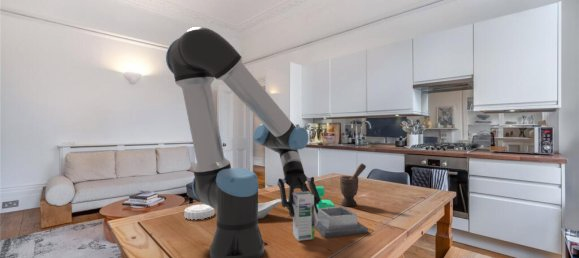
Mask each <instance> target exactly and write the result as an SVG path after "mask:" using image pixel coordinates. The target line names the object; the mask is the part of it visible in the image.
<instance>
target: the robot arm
mask: <svg viewBox="0 0 579 258" xmlns="http://www.w3.org/2000/svg"><path fill="white" fill-rule="evenodd" d="M242 60H243V57H242V55H240V53H239V52H238V50H237V49H236V48H235V47H234V46H233V45H232V44H231V43H230V42H229V41H227V39H226V38H224V37H223V36H222V35H220V34H219V32H216V31H214V30H213V29H210V28H206V27H204V26H203V27H202V26H197V27H192V28H190V29H188V30H186V31H185V32H184V33H183V34H182V35H181V36H180V37H178V38H177V39H175V40H174V41H173V42H171V44H170V46H169V47H168V49H167V51H166V55H165V62H166V65H167V68H168V69H169V71H170V72H171V74H173V77H174V82H175V85H177V86H178V87H180V88H181V90H182V95H183V100H184V104H185V108H186V109H185V110H186V113H187V114H186V115H187V121H188V123H189V129H190V134H191V139H192V144H193V149H194V154H195V158H196V164H195V166H194V168H193V169H192V170H193V176H194V178H193V179H192V184H191V188H192V193H193V195H194V196H195V198H196V199H197V200H198V201H199V202H200V203H201V204H206V205H209V206H211V207H213V208H215V210H216V228H215V232H214V234H213V237H212V238H213V239H212V242H211V245H210V246H209V258H262V256H263V255H264V253H265V243H264V240H263V237H262V234H261V230H260V228H259V219H258V203H259V188H260V187H259V180H258V175H257V174H256V173H255V172H254V171H252V170H249V169H245V168H242V169H241V168H238V167H237V168H236V167H235V168H234V167H233V168H232V165H231V161H230V160H228V159H227V158H226V157H225V155H224V148H223V143H222V138H221V131H220V126H219V121H218V115H217V112H216V107H215V100H214V95H213V89H212V83H213V82H214V81H215V79H216V80H217V81H218V80H220V81H222V82H223V83H224V84H225V85H226V86H227V87H228V88H229V89H230V90H231V91H232V92H233V93H234V94H235V96H236V97H237V98H238V99H239V100H240V101H241V102H242V103H243V104H244V106H246V108H247V109H248V110H249V111H251V113H252V114H253V115H254V116H255V117H256V118H257V120H259V122H261V124H259V125H258V126H257V127H256V128H255V129H254V131H253V135H252V139H253V141H254V142H255V143H257V144H258V145H260V146H263V147H265V148H266V149H268V150H271V151H274V152H276V153H278V154H279V157H280V162H281V167H282V172H283V175H284V176H283V177H284V178H278V180H277V182H276V183H277V186H278V188H279V192H280V193H279V194H280V199H281V201H282V203H281V206H282V207H283V208H285V207H286V209H287V210H288V212H289V216H290V217H291V218H292V220H293V219H294V223H295V228H297V227H298V226H299V224H300V223H299V219H298V215H297V210H296V206H295V205H292V204H293V192H295V190H296V189H299V190H300V192H306V191H309V192H311V193H312V194H313V195H314V226H315V225H317V224H318V222H319V221H318V217H317V213H318V209H317V205H316V204H319V202H320V197H319V194H318V191H317V189H316V183H315V177H314V176H311V177H308V176H307V175H306V174H305V170H304V167H303V164H302V159H301V156H300V153H299V150H302V149H305V148H306V147H307V145H308V143H309V138H310V137H309V133H308V131H307V130H306V128H304V127H301V126H296V125H295V124H294V123H293V122H292V121H291V120H290V119H289V117H288V116H287V115H286V113H284V111H283V110H282V109H281V108H280V106H279V105H278V104H277V103H276V102H275V100H274V99H273V98H272V97H271V95H270V94H269V93H268V92H267V91H266V89H265V88H264V87H263V86H262V85H261V84H260V82H259V81H258V80H257V79H256V78H255V77H254V76H253V74H252V72H250V71H249V69H248V68H247V67H246V66H245V64H243V61H242ZM306 182H307V183H306ZM285 185H287V186H288V187H289V188H288V189H289V192H288V198H287V193H286V187H285ZM308 185H309V188H308ZM287 199H288V202H287Z"/></svg>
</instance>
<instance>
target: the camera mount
mask: <svg viewBox="0 0 579 258" xmlns="http://www.w3.org/2000/svg"><path fill="white" fill-rule="evenodd" d="M315 186H316V185H315ZM316 189H317V191H318V194H319V197H320V202H319V204H316V205H317V208H329V207H337V206H336V205H335V204H334V203H333V202H332V201H331V200H330V199H322V197H324V196H325V187H324V186H323V185H322V186H320V185H319V186H316Z"/></svg>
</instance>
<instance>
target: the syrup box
mask: <svg viewBox="0 0 579 258" xmlns="http://www.w3.org/2000/svg"><path fill="white" fill-rule="evenodd" d="M309 191H310V190H309ZM309 191H306V192H303V191H299V192H297V191H296V192H295V191H294V192H293V205H295V206H296V210H297V215H298V219H299V223H300V224H299V226H298V227H297V228H295V223H294V219H293V218H292V235H293V236H294V238H295V239H296V240H297V242H301V241H308V240H314V239H315V228H314V195H313V194H312V192H311V191H310V192H309Z"/></svg>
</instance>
